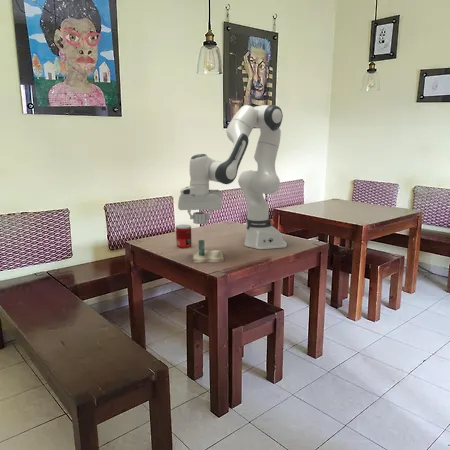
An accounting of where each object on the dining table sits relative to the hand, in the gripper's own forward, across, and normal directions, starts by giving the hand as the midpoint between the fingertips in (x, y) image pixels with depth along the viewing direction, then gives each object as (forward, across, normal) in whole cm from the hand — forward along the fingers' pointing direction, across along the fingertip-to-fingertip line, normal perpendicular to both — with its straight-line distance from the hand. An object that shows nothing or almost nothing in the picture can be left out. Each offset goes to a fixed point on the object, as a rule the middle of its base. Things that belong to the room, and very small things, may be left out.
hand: (200, 218), depth 196 cm
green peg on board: (+19, -3, +1) cm, 19 cm away
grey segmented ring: (+2, 0, 0) cm, 2 cm away
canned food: (+19, +9, -20) cm, 29 cm away
